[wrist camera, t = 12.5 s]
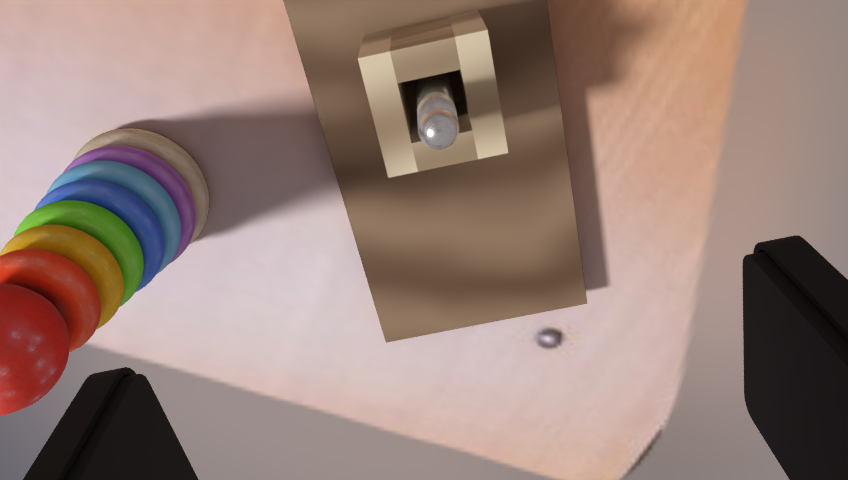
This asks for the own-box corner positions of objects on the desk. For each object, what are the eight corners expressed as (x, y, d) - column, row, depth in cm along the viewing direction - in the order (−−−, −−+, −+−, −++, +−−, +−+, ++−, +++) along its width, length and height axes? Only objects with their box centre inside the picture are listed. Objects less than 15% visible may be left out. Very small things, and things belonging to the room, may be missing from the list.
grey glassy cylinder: (412, 67, 38) (413, 120, 30) (445, 59, 37) (456, 110, 30) (419, 99, 38) (423, 159, 31) (452, 92, 38) (464, 150, 30)
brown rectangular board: (285, -12, 37) (281, -8, 36) (532, -71, 36) (537, -69, 35) (386, 329, 47) (386, 342, 46) (582, 291, 46) (587, 303, 45)
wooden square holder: (363, 35, 37) (357, 58, 32) (477, 10, 36) (487, 29, 32) (390, 143, 40) (388, 177, 35) (496, 120, 39) (508, 153, 35)
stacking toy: (211, 131, 41) (74, 312, 24) (214, 253, 44) (97, 484, 28) (68, 116, 40) (-173, 292, 23) (83, 241, 44) (-116, 470, 27)
